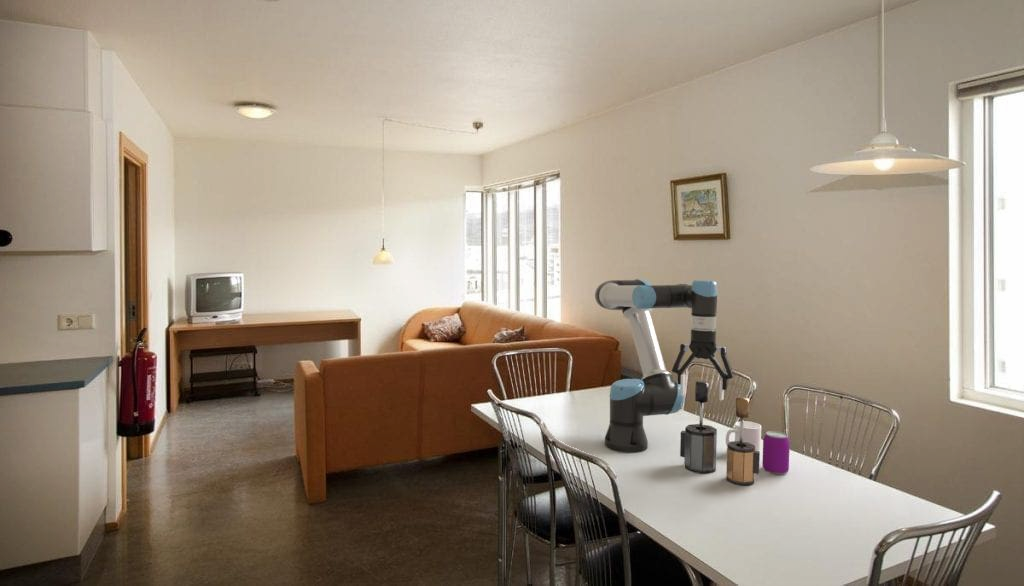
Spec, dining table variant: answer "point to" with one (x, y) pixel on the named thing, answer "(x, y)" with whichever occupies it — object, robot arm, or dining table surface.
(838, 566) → the dining table surface
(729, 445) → the carafe
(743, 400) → the plunger
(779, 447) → the beverage can
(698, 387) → the plunger
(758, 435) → the cup
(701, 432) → the carafe
